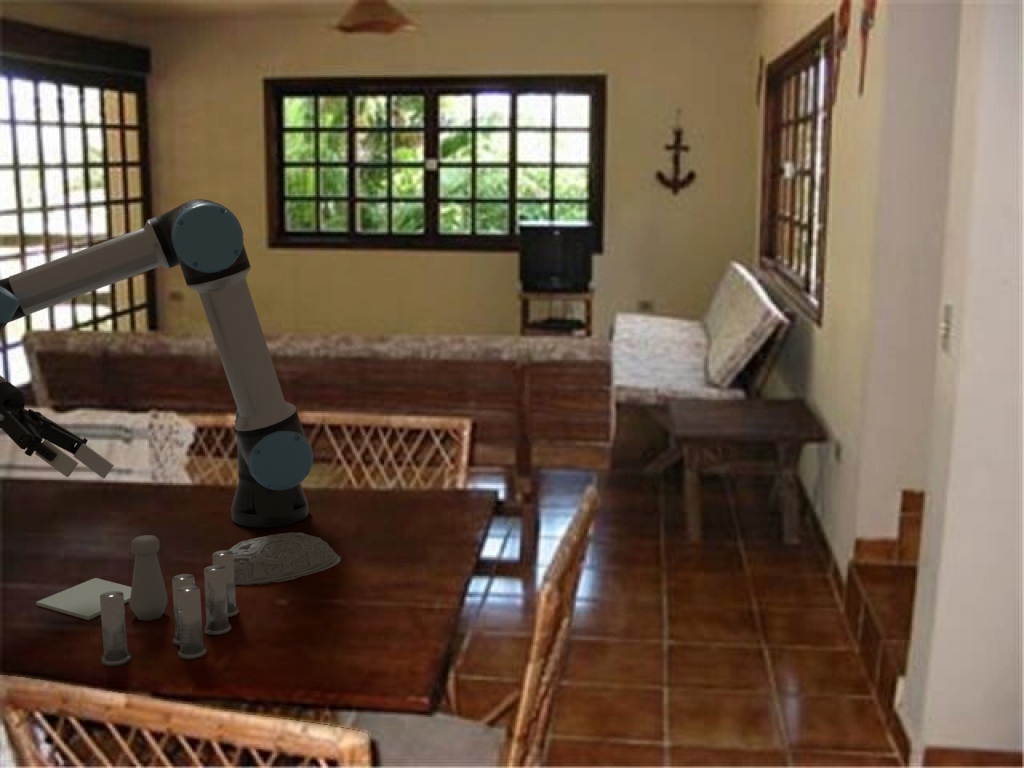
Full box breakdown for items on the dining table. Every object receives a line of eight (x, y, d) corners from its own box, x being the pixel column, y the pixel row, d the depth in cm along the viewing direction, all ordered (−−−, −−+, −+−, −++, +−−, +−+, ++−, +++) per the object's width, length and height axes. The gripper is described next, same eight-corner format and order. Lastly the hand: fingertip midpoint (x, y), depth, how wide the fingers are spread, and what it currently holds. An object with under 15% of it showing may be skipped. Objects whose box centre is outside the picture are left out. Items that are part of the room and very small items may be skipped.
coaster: (95, 581, 196) (95, 577, 196) (146, 594, 190) (146, 590, 190) (36, 605, 186) (36, 601, 186) (88, 620, 180) (88, 616, 180)
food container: (190, 564, 203) (191, 529, 201) (322, 546, 216) (324, 513, 215) (218, 602, 190) (219, 565, 189) (356, 580, 204) (358, 545, 202)
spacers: (237, 607, 185) (234, 548, 183) (253, 650, 169) (250, 586, 167) (99, 626, 178) (94, 565, 176) (102, 673, 162) (97, 606, 160)
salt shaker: (133, 625, 178) (128, 546, 175) (127, 612, 183) (121, 535, 180) (172, 618, 181) (167, 540, 178) (165, 605, 186) (160, 529, 183)
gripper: (16, 421, 203) (109, 489, 201) (-64, 411, 179) (41, 489, 176) (41, 386, 204) (134, 454, 201) (-36, 372, 179) (70, 449, 177)
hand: (91, 471), depth 189 cm, fingers open, 13 cm apart
